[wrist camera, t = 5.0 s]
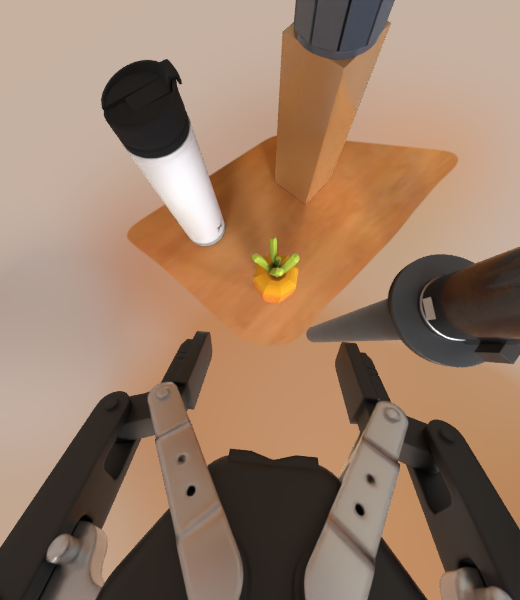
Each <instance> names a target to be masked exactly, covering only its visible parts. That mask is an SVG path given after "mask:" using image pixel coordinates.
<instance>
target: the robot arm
mask: <svg viewBox="0 0 520 600" xmlns="http://www.w3.org/2000/svg"><path fill="white" fill-rule="evenodd" d="M417 307H418V312H419V315H420V317H421V319H422V321H423V323H424V324H425V325H426V327H427V328H428V329H429V330H430V331H432V332H433V333H434V334H436V335H437V336H439V337H441V338H444V339H447V340H452V341H462V342H463V343H464V344H466V345H479V346H478V347H477V349H476V350H475V351H474V352H475V353H476V354H477V355H479V356H480V357H481V358H483V359H484V360H485V361H487V362H495V363H508V364H514V363H515V361H516V360H517V358H518V357H519V355H520V247H517V248H515V249H512V250H510V251H507V252H504V253H502V254H499V255H496V256H494V257H491V258H489V259H486V260H483V261H481V262H478V263H476V264H473V265H470V266H468V267H465V268H462V269H460V270H457V271H455V272H452V273H449V274H447V275H443V276H440V277H437V278H434V279H432V280H430V281H429V282H427V283H426V284H425V285H424V286H423V287H422V289H421V290H420V292H419V295H418V300H417ZM211 357H212V344H211V336H210V332H201V331H197V332H196V334H195V336H194V338H193V339H187V340H186V341H185V342H184V343H183V344H182V345H181V346H180V348H179V350H178V352H177V353H176V356H175V357H174V359H173V361H172V363H171V365H170V367H169V369H168V370H167V372H166V374H165V376H164V378H163V380H162V382H161V383H160V384H158V385H156V386H155V387H154V388H153V389H152V390H151V391H150V392H147V393H144V394H139V395H134V396H130V397H129V396H128V394H127V393H125V392H122V391H117V392H113V393H111V394H109V395H107V396H105V397H104V398H103V399H101V400H100V402H99V403H98V404H97V406H96V407H95V408H94V410H93V411H92V413H91V414H90V416H89V417H88V419H87V420H86V422H85V423H84V425H83V426H82V428H81V429H80V431H79V432H78V433H77V435H76V437H75V438H74V439H73V441H72V442H71V444H70V445H69V447H68V448H67V450H66V451H65V453H64V454H63V456H62V457H61V459H60V460H59V462H58V463H57V465H56V466H55V468H54V469H53V470H52V472H51V473H50V475H49V476H48V478H47V479H46V481H45V482H44V484H43V485H42V487H41V488H40V490H39V491H38V493H37V494H36V496H35V497H34V499H33V500H32V502H31V503H30V505H29V506H28V507H27V509H26V510H25V512H24V513H23V515H22V516H21V518H20V519H19V521H18V522H17V524H16V525H15V527H14V528H13V530H12V531H11V533H10V534H9V536H8V537H7V539H6V540H5V542H4V543H3V545H2V546H1V547H0V600H427V598H426V597H425V596H424V594H423V593H422V591H421V590H420V589H419V588H418V586H417V585H416V583H415V582H414V580H413V579H412V578H411V576H410V575H409V574H408V572H407V571H406V570H405V568H404V567H403V565H402V564H401V563H400V561H399V560H398V559H397V557H396V556H395V554H394V553H393V552H392V550H391V549H390V548H389V546H388V545H387V544H386V542H385V541H384V539H383V538H382V537H381V535H382V532H383V528H384V524H385V521H386V517H387V514H388V510H389V506H390V503H391V499H392V496H393V492H394V488H395V485H396V481H397V477H398V474H399V469H400V464H399V463H398V461H400V462H403V463H405V464H406V466H407V468H408V471H409V474H410V476H411V479H412V482H413V484H414V488H415V490H416V493H417V496H418V498H419V501H420V504H421V507H422V509H423V512H424V515H425V517H426V520H427V523H428V526H429V529H430V531H431V534H432V537H433V540H434V542H435V545H436V548H437V551H438V553H439V556H440V559H441V562H442V564H443V567H444V570H445V573H444V574H443V575H442V576H441V579H440V592H441V597H442V600H520V530H519V528H518V526H517V524H516V523H515V521H514V520H513V518H512V516H511V515H510V513H509V511H508V510H507V508H506V506H505V505H504V503H503V501H502V500H501V498H500V497H499V495H498V493H497V491H496V490H495V488H494V486H493V485H492V483H491V482H490V480H489V478H488V477H487V475H486V473H485V472H484V470H483V468H482V467H481V465H480V464H479V462H478V460H477V459H476V457H475V455H474V454H473V452H472V450H471V449H470V447H469V445H468V444H467V442H466V441H465V439H464V437H463V436H462V435H461V434H460V432H459V431H458V430H457V429H456V428H454V427H453V426H451V425H450V424H448V423H446V422H444V421H441V420H432V421H430V422H429V424H426V423H423V422H421V421H418V420H415V419H413V418H410V417H408V416H406V414H405V413H404V412H403V411H402V410H401V409H400V408H399V407H398V406H396V405H395V404H393V403H391V401H390V399H389V397H388V395H387V392H386V390H385V388H384V386H383V384H382V381H381V379H380V377H379V376H378V373H377V371H376V369H375V366H374V364H373V362H372V360H371V359H370V358H369V357H368V356H367V355H366V353H360V351H359V348H358V346H357V344H356V343H346V342H342V343H341V346H340V349H339V352H338V354H337V358H336V361H335V367H336V372H337V376H338V379H339V383H340V387H341V390H342V394H343V398H344V402H345V405H346V409H347V413H348V416H349V420H350V423H351V424H358V426H359V430H360V433H359V435H358V437H357V440H356V442H355V444H354V446H353V448H352V450H351V452H350V454H349V457H348V459H347V461H346V463H345V465H344V467H343V469H342V471H341V473H340V475H339V477H338V478H337V477H336V476H335V475H334V474H333V473H332V472H330V471H329V470H327V469H326V468H324V467H322V466H320V465H318V458H316V457H306V456H291V457H286V458H281V459H276V460H272V459H269V458H267V457H265V456H262V455H260V454H257V453H255V452H252V451H247V450H237V449H230V452H229V455H228V456H224V457H221V458H219V459H217V460H215V461H213V462H212V463H211V464H209V465H208V466H207V465H206V462H205V459H204V457H203V454H202V451H201V448H200V446H199V443H198V440H197V437H196V435H195V432H194V429H193V427H192V424H191V421H190V420H189V418H188V415H187V410H188V409H194V408H195V405H196V402H197V399H198V396H199V393H200V390H201V387H202V384H203V381H204V378H205V376H206V373H207V370H208V367H209V363H210V361H211ZM152 435H156V439H155V443H156V448H157V452H158V457H159V461H160V466H161V471H162V475H163V480H164V485H165V489H166V493H167V498H168V502H169V507H170V508H169V509H168V510H167V511H166V512H165V513H164V514H163V516H162V517H161V518H160V519H159V520H158V521H157V522H156V523H155V525H154V526H153V527H152V528H151V529H150V530H149V531H148V532H147V533H146V535H145V536H144V537H143V538H142V539H141V540H140V541H139V542H138V544H137V545H136V546H135V547H134V548H133V549H132V550H131V552H130V553H129V554H128V555H127V556H126V557H125V558H124V559H123V560H122V562H121V563H120V564H119V565H118V566H117V567H116V569H115V570H114V571H113V572H112V574H111V575H110V576H109V577H108V579H107V580H106V582H105V583H104V580H103V575H102V567H103V562H104V558H105V555H106V551H107V546H108V540H107V535H106V533H105V532H104V531H103V530H102V527H103V525H104V523H105V520H106V518H107V516H108V514H109V511H110V509H111V506H112V504H113V502H114V500H115V498H116V495H117V493H118V491H119V488H120V486H121V484H122V482H123V479H124V477H125V475H126V472H127V470H128V468H129V465H130V463H131V461H132V459H133V456H134V454H135V451H136V449H137V447H138V445H139V442H140V440H141V438H144V437H148V436H152Z"/></svg>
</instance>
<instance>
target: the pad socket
mask: <svg viewBox="0 0 520 600" xmlns="http://www.w3.org/2000/svg"><path fill="white" fill-rule="evenodd" d="M394 1H395V0H296V6H295V17H294V22H293V23H292V24H291V25H290V26H289V27H288V28H287V29H285V30H284V31H283V36H282V55H281V73H280V92H279V93H280V94H279V111H278V129H277V147H276V166H275V182H276V183H277V184H278V185H280V186H281V187H282V188H284V189H285V190H286V191H288V192H289V193H290V194H292V195H293V196H294V197H296V198H297V199H298V200H300V201H301V202H302V203H304V204H305V205H306V204H307V203H308V202H309V200H310V199H311V198H312V197H313V196H314V195H315V194H316V193H317V192H318V191H319V190H320V189H321V188H322V187H323V186H324V185H325V183H326V182H327V181H328V180H329V179H330V178H331V176H332V173H333V171H334V168H335V166H336V163H337V161H338V158H339V155H340V153H341V150H342V148H343V145H344V143H345V140H346V138H347V135H348V132H349V130H350V127H351V125H352V122H353V120H354V117H355V114H356V111H357V109H358V107H359V104H360V102H361V99H362V96H363V94H364V91H365V89H366V86H367V84H368V81H369V79H370V76H371V73H372V71H373V68H374V66H375V63H376V61H377V58H378V56H379V53H380V50H381V48H382V45H383V43H384V40H385V38H386V35H387V33H388V30H389V27H390V25H391V23H390V22H388V21H387V20H388V17H389V14H390V11H391V9H392V6H393V3H394Z"/></svg>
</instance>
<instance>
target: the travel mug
mask: <svg viewBox="0 0 520 600" xmlns="http://www.w3.org/2000/svg"><path fill="white" fill-rule="evenodd" d="M176 79H177V81H178V82H179V84H182V82H181V79H180V76H179V74H178V72H177V70H176V69H175V68H174V66H173V65H172V64H171V62H170V61H169V60H167V59H166V60H163V61H162V62H157V61H152V60H142V61H138V62H134V63H131V64H129V65H127V66H125V67H123V68H122V69H121V70H119V71H118V72H117V73H116V74H115V75H114V76H113V77H112V78H111V79H110V80H109V82H108V83H107V85H106V87H105V89H104V91H103V94H102V98H101V102H102V109H103V110H104V117H105V119H106V121H107V122H108V124H109V125H110V127H111V128H112V129H113V131H114V132H115V134H116V135H117V136H118V138H119V139H120V141H121V142H122V144H123V146H124V147H125V149H126V150H127V151H128V153H129V154H130V156H131V157H132V159H133V160H134V161H135V163H136V164H137V166H138V167H139V168H140V170H141V171H142V173H143V174H144V175H145V177H146V178H147V179H148V181H149V182H150V184H151V185H152V186H153V188H154V189H155V191H156V192H157V193H158V195H159V196H160V197H161V199H162V200H163V202H164V203H165V205H166V206H167V207H168V209H169V210H170V212H171V213H172V214H173V216H174V217H175V218H176V220H177V221H178V223H179V224H180V225H181V227H182V228H183V230H184V231H185V232H186V234H187V235H188V237H189V238H190V239H191V241H193V242H194V243H195V244H197V245H200V246H210V245H213V244H215V243H217V242H218V241H219V240H220V239H221V238H222V237H223V235H224V232H225V223H224V220H223V217H222V214H221V211H220V208H219V205H218V202H217V199H216V196H215V193H214V190H213V187H212V184H211V181H210V178H209V175H208V173H207V169H206V166H205V163H204V161H203V158H202V155H201V152H200V149H199V146H198V143H197V140H196V137H195V134H194V131H193V128H192V126H191V123H190V119H189V117H188V115H187V112H186V111H185V107H184V104H183V101H182V99H181V96H180V94H179V91H178V88H177V82H176Z"/></svg>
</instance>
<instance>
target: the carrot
mask: <svg viewBox="0 0 520 600" xmlns="http://www.w3.org/2000/svg"><path fill="white" fill-rule="evenodd" d="M276 251H277V240H276V238H272V239H271V240H270V254H269V255H267V256H266V257H264V258H263V257H262V256H260V255H259V254H257V253H254V254H253V255H252V259H253V260H254V261H255V262H256V268H255V273H254V278H253V282H254V285H255V287H256V289H257V291H258V292H259V294H260V295H261V297H262V298H263V299H264V301H266V302H272V303H280V302H281V301H282V300H284V299H285V298H287V297H288V296H290V295H291V294H292V293H293V291H294V290H295V288H296V283H297V277H298V271H299V269H298V268H297V267H296V264H297V262H298V261H299V259H300V257H299V256H298V254H296V253H295V252H294V253H293V254H292V255H291V256H290V257H289V256H288V255H282V254H276Z"/></svg>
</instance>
